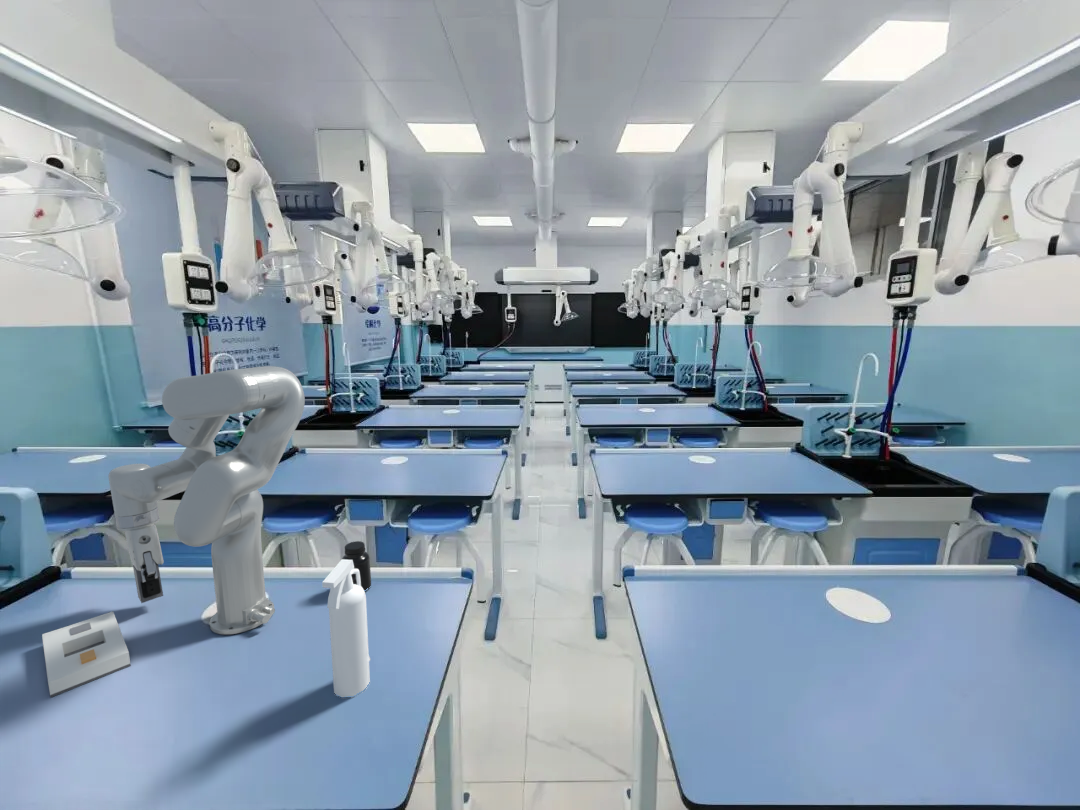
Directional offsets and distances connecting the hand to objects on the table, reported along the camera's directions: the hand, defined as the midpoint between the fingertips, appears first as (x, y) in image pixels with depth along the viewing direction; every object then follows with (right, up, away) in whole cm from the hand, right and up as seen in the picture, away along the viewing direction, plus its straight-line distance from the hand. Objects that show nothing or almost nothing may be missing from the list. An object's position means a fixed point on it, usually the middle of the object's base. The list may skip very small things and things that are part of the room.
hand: (150, 591), depth 111 cm
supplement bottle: (+45, -4, +11) cm, 46 cm away
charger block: (0, -1, 0) cm, 1 cm away
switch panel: (0, -7, -16) cm, 17 cm away
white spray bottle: (+57, -9, -21) cm, 61 cm away
